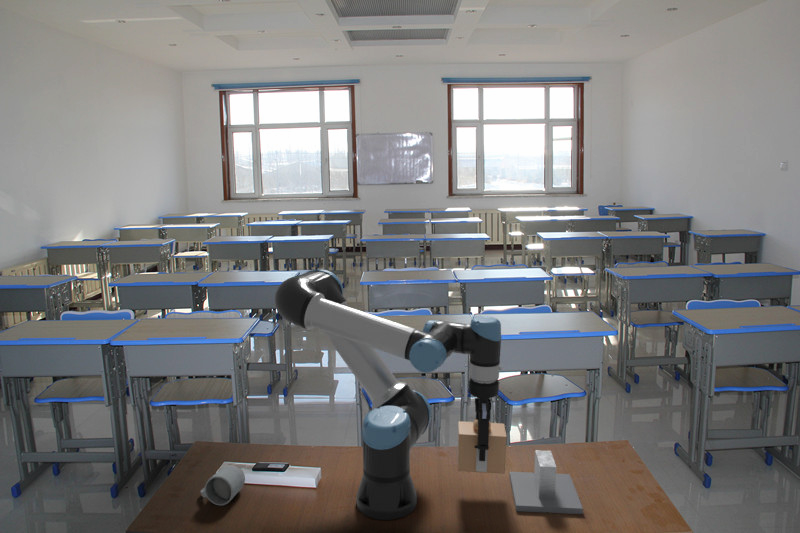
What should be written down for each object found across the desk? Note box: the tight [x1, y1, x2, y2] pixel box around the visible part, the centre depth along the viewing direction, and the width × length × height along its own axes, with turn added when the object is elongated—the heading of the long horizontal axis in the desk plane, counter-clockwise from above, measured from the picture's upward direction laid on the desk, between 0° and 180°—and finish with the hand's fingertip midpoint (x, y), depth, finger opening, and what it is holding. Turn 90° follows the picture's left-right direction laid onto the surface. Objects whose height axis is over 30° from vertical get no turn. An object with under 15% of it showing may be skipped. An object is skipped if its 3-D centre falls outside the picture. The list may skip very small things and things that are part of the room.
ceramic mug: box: [200, 464, 246, 506], centre depth 148 cm, size 11×8×8 cm
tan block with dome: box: [456, 419, 508, 475], centre depth 148 cm, size 12×7×12 cm, turn 85°
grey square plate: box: [508, 449, 584, 515], centre depth 148 cm, size 16×16×10 cm
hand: (480, 462), depth 149 cm, fingers closed on tan block with dome, 7 cm apart
